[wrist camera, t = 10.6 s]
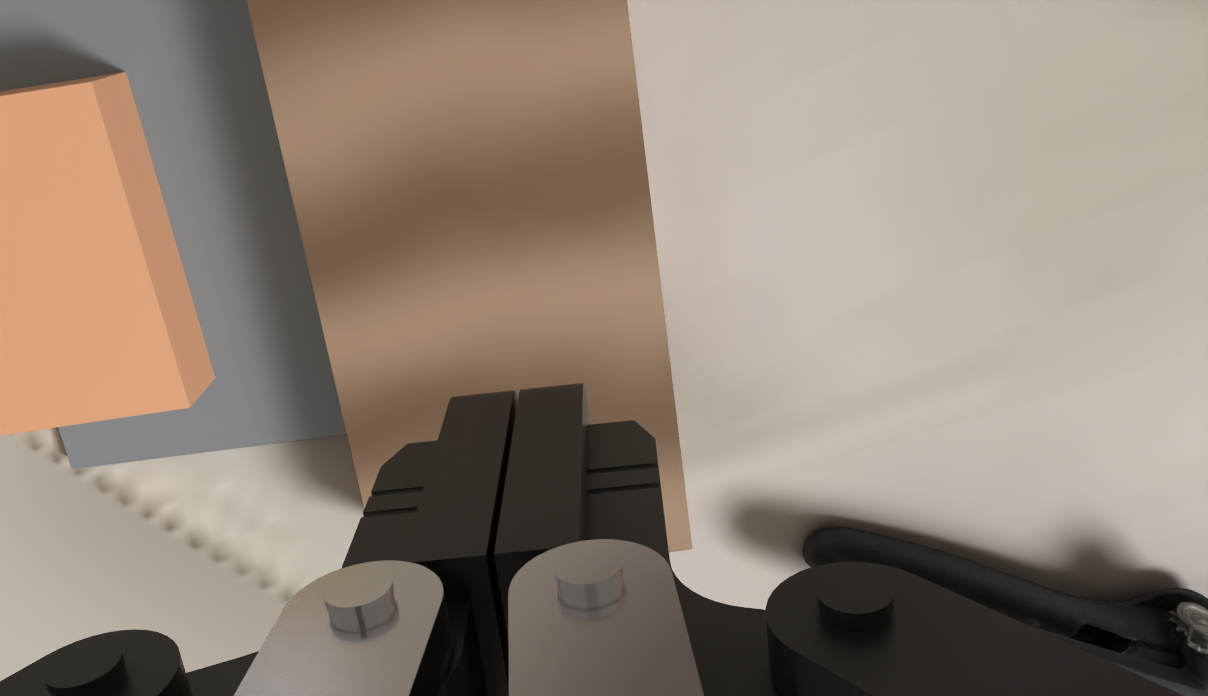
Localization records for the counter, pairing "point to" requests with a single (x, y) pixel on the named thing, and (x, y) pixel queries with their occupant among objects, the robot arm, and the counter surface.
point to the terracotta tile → (88, 265)
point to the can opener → (1053, 607)
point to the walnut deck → (473, 211)
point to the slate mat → (200, 214)
